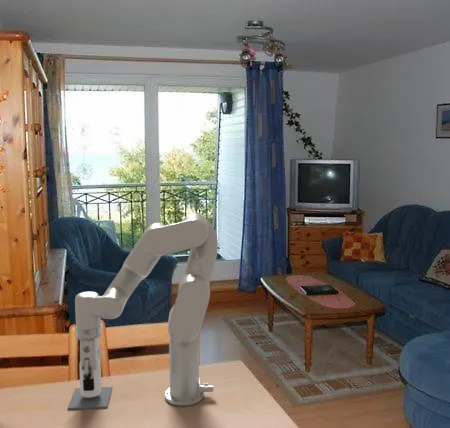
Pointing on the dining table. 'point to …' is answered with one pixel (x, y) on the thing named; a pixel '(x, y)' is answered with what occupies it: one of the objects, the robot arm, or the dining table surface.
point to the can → (96, 382)
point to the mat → (90, 400)
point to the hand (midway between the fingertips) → (90, 384)
